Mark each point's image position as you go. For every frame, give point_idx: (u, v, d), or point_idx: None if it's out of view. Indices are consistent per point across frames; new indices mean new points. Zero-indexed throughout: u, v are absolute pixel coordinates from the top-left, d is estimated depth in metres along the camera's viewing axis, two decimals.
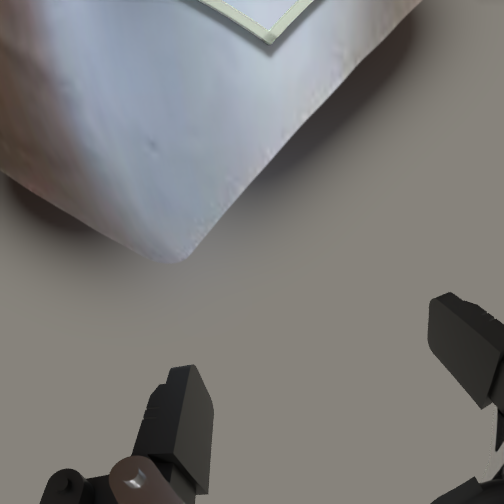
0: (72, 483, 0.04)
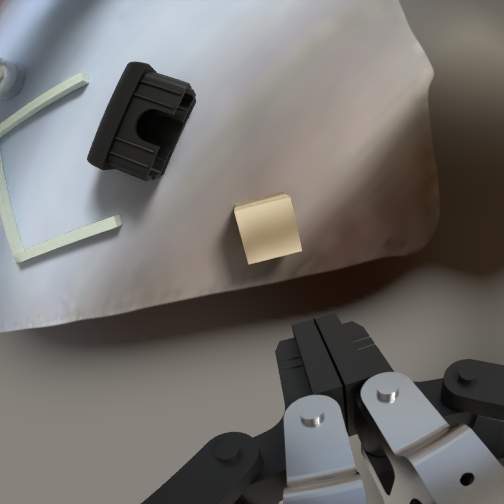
0: (241, 446, 0.05)
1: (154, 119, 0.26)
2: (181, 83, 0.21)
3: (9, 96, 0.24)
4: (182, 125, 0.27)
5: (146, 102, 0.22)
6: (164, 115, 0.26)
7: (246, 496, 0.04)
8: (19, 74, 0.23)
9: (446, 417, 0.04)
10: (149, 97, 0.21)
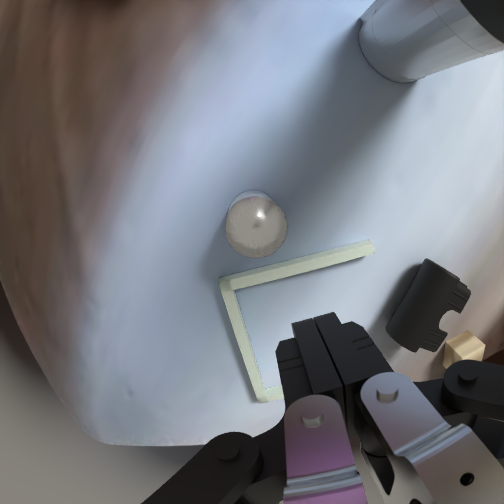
0: (241, 447, 0.05)
1: None
2: (468, 291, 0.28)
3: None
4: None
5: (450, 305, 0.28)
6: None
7: (246, 496, 0.04)
8: None
9: (446, 417, 0.04)
10: (451, 302, 0.28)
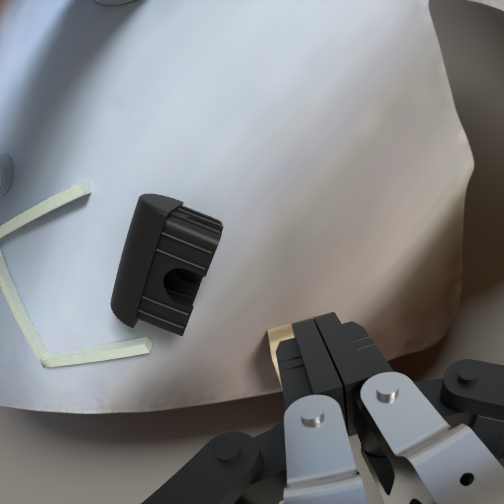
0: (241, 447, 0.05)
1: None
2: (211, 237, 0.21)
3: None
4: None
5: (172, 260, 0.21)
6: None
7: (246, 496, 0.04)
8: (5, 171, 0.22)
9: (446, 417, 0.04)
10: (174, 254, 0.21)
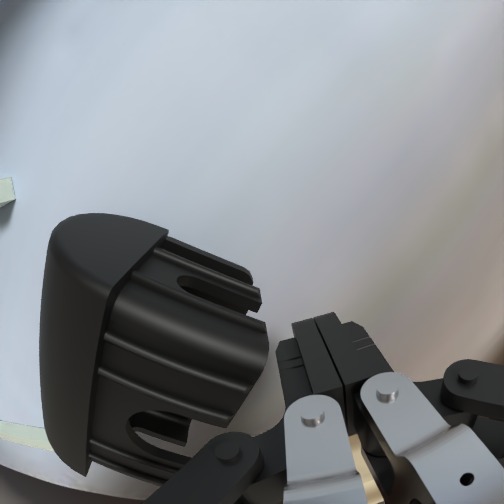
0: (241, 446, 0.05)
1: None
2: (245, 351, 0.07)
3: None
4: None
5: (141, 395, 0.07)
6: None
7: (246, 496, 0.04)
8: None
9: (446, 417, 0.04)
10: (145, 385, 0.07)
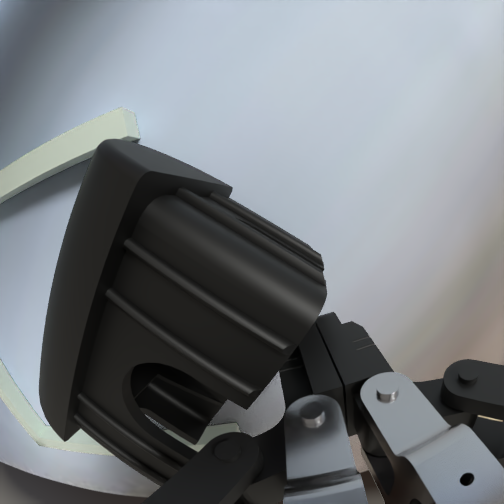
0: (241, 447, 0.05)
1: None
2: (295, 292, 0.06)
3: None
4: None
5: (149, 337, 0.06)
6: None
7: (246, 496, 0.04)
8: None
9: (446, 417, 0.04)
10: (157, 322, 0.06)
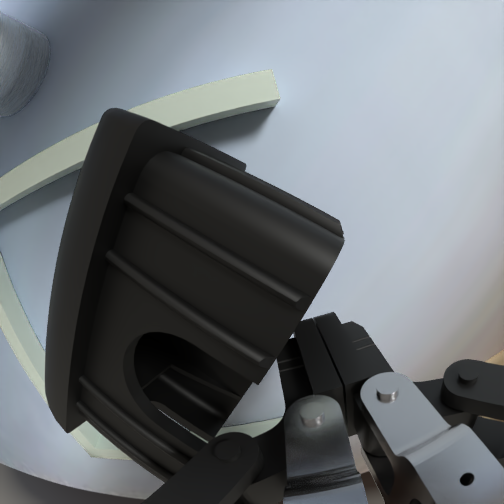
0: (241, 447, 0.05)
1: None
2: (307, 236, 0.05)
3: (6, 111, 0.09)
4: None
5: (150, 301, 0.06)
6: None
7: (246, 496, 0.04)
8: (34, 51, 0.08)
9: (446, 417, 0.04)
10: (158, 283, 0.06)
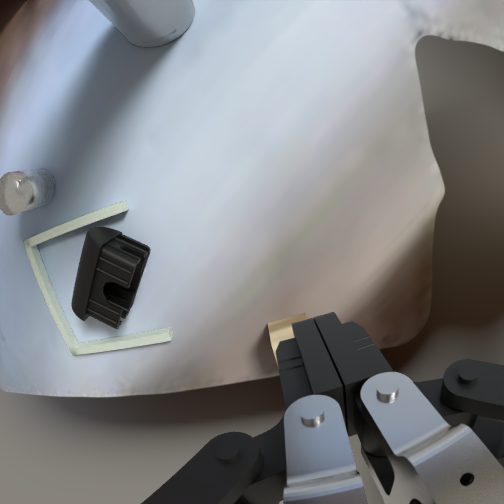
0: (241, 447, 0.05)
1: None
2: (130, 262, 0.29)
3: None
4: (141, 272, 0.35)
5: (106, 276, 0.29)
6: None
7: (246, 496, 0.04)
8: (49, 186, 0.30)
9: (446, 417, 0.04)
10: (108, 272, 0.29)
